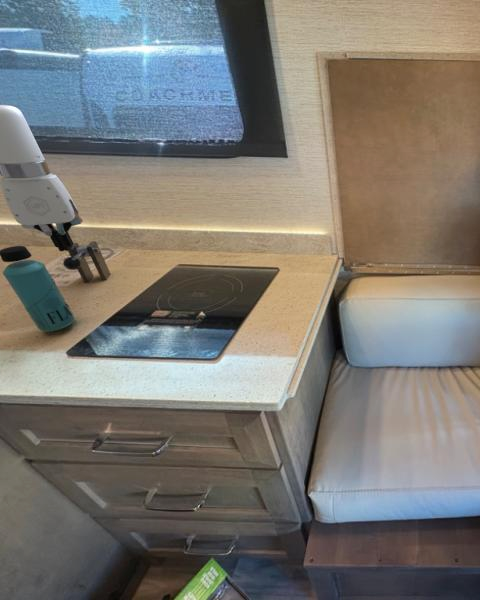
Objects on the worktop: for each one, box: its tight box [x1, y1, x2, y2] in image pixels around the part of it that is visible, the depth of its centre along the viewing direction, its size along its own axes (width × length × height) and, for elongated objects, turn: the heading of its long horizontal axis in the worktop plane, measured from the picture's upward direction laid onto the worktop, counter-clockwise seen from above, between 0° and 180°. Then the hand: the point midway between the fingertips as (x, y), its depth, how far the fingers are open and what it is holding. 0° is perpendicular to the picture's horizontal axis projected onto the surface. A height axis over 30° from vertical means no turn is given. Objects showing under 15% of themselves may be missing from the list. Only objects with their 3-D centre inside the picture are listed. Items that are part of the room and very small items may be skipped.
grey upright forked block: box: [67, 240, 111, 284], centre depth 92 cm, size 7×10×12 cm
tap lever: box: [62, 244, 91, 271], centre depth 86 cm, size 12×3×3 cm, turn 24°
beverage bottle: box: [0, 245, 75, 332], centre depth 71 cm, size 6×7×20 cm
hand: (66, 248), depth 81 cm, fingers closed
